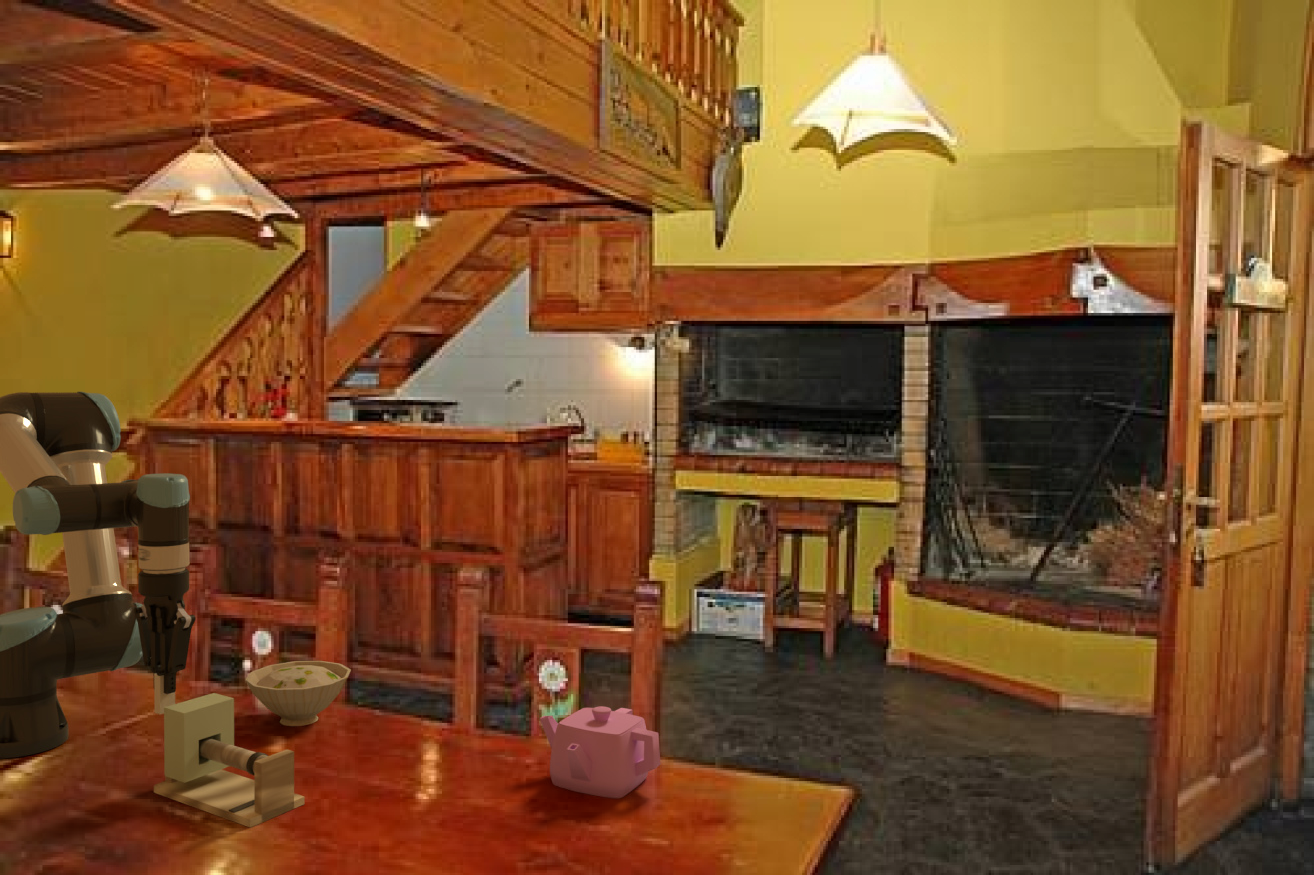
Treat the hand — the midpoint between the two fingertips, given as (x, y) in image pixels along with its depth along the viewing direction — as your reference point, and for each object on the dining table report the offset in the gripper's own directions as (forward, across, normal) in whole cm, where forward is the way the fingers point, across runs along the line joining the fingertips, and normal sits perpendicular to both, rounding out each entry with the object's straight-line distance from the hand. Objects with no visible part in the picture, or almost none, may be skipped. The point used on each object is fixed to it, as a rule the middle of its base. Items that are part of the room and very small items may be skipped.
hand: (164, 711), depth 171 cm
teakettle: (+11, +60, +38) cm, 72 cm away
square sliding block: (+8, +9, 0) cm, 12 cm away
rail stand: (+11, +16, 0) cm, 19 cm away
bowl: (+11, -4, +31) cm, 33 cm away
